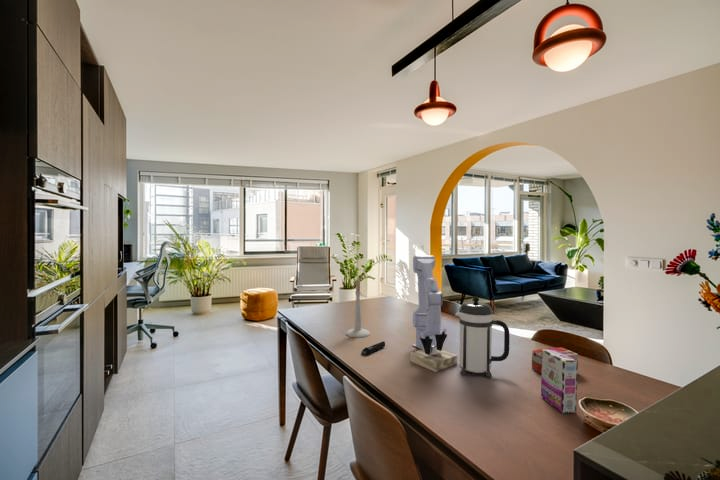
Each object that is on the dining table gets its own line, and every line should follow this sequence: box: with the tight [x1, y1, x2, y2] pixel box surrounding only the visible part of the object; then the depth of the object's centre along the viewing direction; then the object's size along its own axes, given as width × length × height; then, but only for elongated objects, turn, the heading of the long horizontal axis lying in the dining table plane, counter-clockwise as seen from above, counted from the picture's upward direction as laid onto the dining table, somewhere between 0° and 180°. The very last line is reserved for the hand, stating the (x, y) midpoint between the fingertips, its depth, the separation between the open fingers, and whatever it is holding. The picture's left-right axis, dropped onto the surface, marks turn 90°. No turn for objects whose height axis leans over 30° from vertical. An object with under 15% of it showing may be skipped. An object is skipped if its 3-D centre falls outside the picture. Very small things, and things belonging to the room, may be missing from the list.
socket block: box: [409, 349, 458, 373], centre depth 146 cm, size 14×14×4 cm
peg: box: [430, 345, 437, 357], centre depth 146 cm, size 3×3×7 cm
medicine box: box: [531, 346, 579, 374], centre depth 138 cm, size 15×8×8 cm, turn 105°
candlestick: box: [345, 278, 371, 339], centre depth 185 cm, size 13×13×30 cm
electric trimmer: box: [361, 340, 386, 357], centre depth 160 cm, size 4×16×3 cm, turn 140°
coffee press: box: [455, 296, 510, 379], centre depth 137 cm, size 17×16×30 cm
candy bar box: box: [540, 348, 579, 414], centre depth 111 cm, size 11×5×16 cm, turn 5°
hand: (433, 352), depth 146 cm, fingers open, 7 cm apart
